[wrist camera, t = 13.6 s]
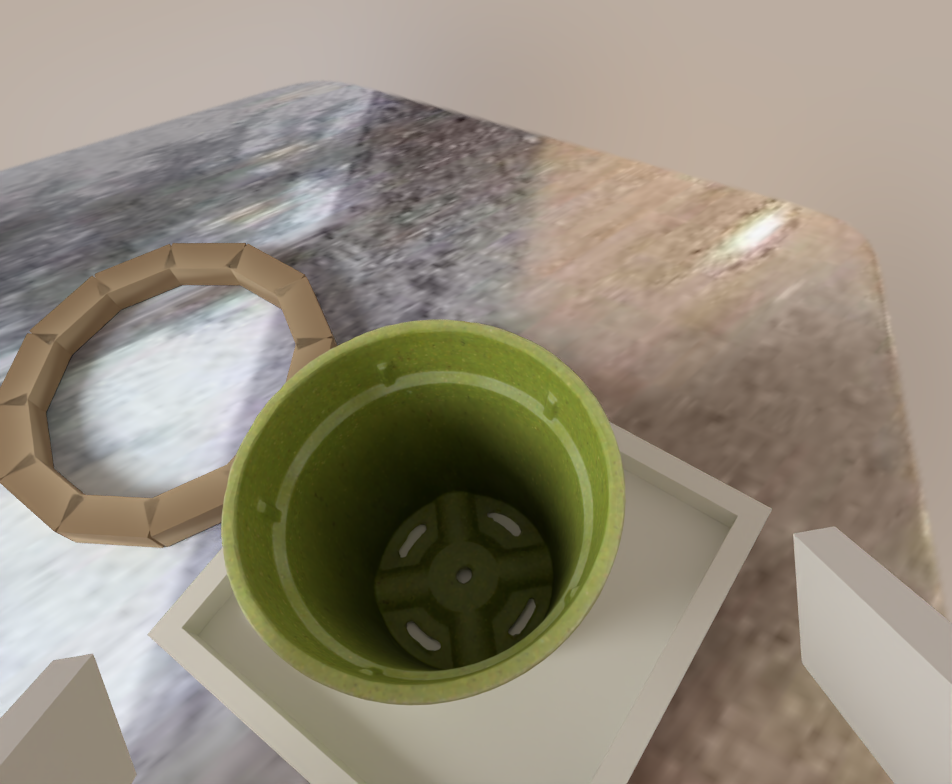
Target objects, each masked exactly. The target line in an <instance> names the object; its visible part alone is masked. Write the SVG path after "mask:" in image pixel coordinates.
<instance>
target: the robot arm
mask: <svg viewBox="0 0 952 784" xmlns="http://www.w3.org/2000/svg"><path fill="white" fill-rule="evenodd" d="M793 539H794V553H795V568H796V583H797V598H798V613H799V627H800V642H801V657H802V664H803V665H804V666H805V668H806V669H807V670H808V672H809V673H810V674H811V675H812V677H813V678H814V679H815V681H816V682H817V683H818V685H819V686H820V687H821V688H822V690H823V691H824V692H825V694H826V695H827V696H828V698H829V699H830V700H831V701H832V703H833V704H834V705H835V707H836V708H837V709H838V711H839V712H840V713H841V715H842V716H843V717H844V718H845V720H846V721H847V722H848V724H849V725H850V726H851V728H852V729H853V730H854V731H855V733H856V734H857V735H858V737H859V738H860V739H861V741H862V742H863V743H864V745H865V746H866V747H867V748H868V750H869V751H870V752H871V754H872V755H873V756H874V758H875V759H876V760H877V761H878V763H879V764H880V765H881V767H882V768H883V769H884V771H885V772H886V773H887V775H888V776H889V777H890V778H891V780H892V781H893V782H894V784H952V623H951V622H950V621H949V620H947V619H946V618H945V617H944V616H943V615H941V614H940V613H939V612H938V611H937V610H935V609H934V608H933V607H932V606H931V605H929V604H928V603H927V602H926V601H924V600H923V599H922V598H921V597H920V596H918V595H917V594H916V593H915V592H914V591H912V590H911V589H910V588H909V587H908V586H906V585H905V584H904V583H903V582H902V581H900V580H899V579H898V578H897V577H895V576H894V575H893V574H892V573H891V572H889V571H888V570H887V569H886V568H885V567H883V566H882V565H881V564H880V563H879V562H877V561H876V560H875V559H874V558H873V557H871V556H870V555H869V554H868V553H866V552H865V551H864V550H863V549H862V548H860V547H859V546H858V545H857V544H856V543H854V542H853V541H852V540H851V539H850V538H848V537H847V536H846V535H845V534H844V533H842V532H841V531H840V530H839V529H837V528H836V527H835V526H834V527H828V528H822V529H816V530H811V531H805V532H799V533H793ZM136 775H137V774H136V772H135V769H134V766H133V763H132V761H131V758H130V755H129V752H128V749H127V747H126V744H125V741H124V738H123V735H122V733H121V730H120V727H119V724H118V722H117V719H116V716H115V713H114V710H113V708H112V705H111V702H110V699H109V697H108V694H107V691H106V688H105V685H104V683H103V680H102V677H101V674H100V672H99V669H98V666H97V663H96V660H95V658H94V655H93V654H88V655H83V656H77V657H71V658H65V659H59V660H53V661H52V662H51V663H50V664H49V666H48V667H47V668H46V669H45V670H44V671H43V672H42V673H41V674H40V675H39V677H38V678H37V679H36V680H35V681H34V682H33V683H32V684H31V685H30V687H29V688H28V689H27V690H26V691H25V692H24V693H23V694H22V695H21V696H20V698H19V699H18V700H17V701H16V702H15V703H14V704H13V705H12V706H11V707H10V709H9V710H8V711H7V712H6V713H5V714H4V715H3V716H2V717H1V718H0V784H132V782H133V780H134V778H135V777H136Z"/></svg>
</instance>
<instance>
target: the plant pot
mask: <svg viewBox="0 0 952 784" xmlns="http://www.w3.org/2000/svg"><path fill="white" fill-rule="evenodd" d="M625 504H626V499H625V476H624V469H623V464H622V459H621V455H620V451H619V447H618V444H617V441H616V438H615V435H614V432H613V430H612V427H611V425H610V422H609V420H608V418H607V416H606V414H605V412H604V410H603V408H602V406H601V405H600V403H599V401H598V400H597V398H596V397H595V395H594V394H593V393H592V392H591V390H590V389H589V388H588V387H587V385H586V384H585V383H584V382H583V381H582V380H581V379H580V377H579V376H578V375H577V374H576V373H575V372H574V371H572V370H571V369H570V368H569V367H568V366H567V365H566V364H564V363H563V362H562V361H561V360H560V359H558V358H557V357H556V356H555V355H553V354H552V353H550V352H549V351H547V350H546V349H544V348H543V347H541V346H540V345H538V344H536V343H534V342H532V341H530V340H528V339H525V338H523V337H520V336H518V335H516V334H514V333H511V332H508V331H506V330H503V329H500V328H496V327H493V326H490V325H485V324H480V323H470V322H465V321H453V320H421V321H411V322H405V323H399V324H395V325H389V326H385V327H381V328H378V329H375V330H373V331H370V332H367V333H364V334H362V335H360V336H357V337H355V338H353V339H351V340H349V341H347V342H344V343H342V344H340V345H338V346H336V347H334V348H332V349H330V350H329V351H327V352H325V353H324V354H322V355H320V356H318V357H317V358H316V359H314V360H312V361H311V362H309V363H308V364H307V365H306V366H304V367H303V368H302V369H300V370H299V371H298V372H297V373H296V374H295V375H294V376H293V377H292V378H290V379H289V380H288V381H287V382H286V383H285V384H284V385H283V387H282V388H281V389H280V390H279V391H278V392H277V393H276V394H275V395H274V396H273V397H272V398H271V399H270V400H269V401H268V403H267V404H266V405H265V407H264V408H263V409H262V411H261V412H260V413H259V414H258V416H257V417H256V419H255V421H254V423H253V425H252V426H251V428H250V430H249V432H248V433H247V434H246V436H245V438H244V440H243V441H242V443H241V445H240V447H239V449H238V452H237V454H236V457H235V459H234V462H233V464H232V467H231V469H230V473H229V477H228V483H227V488H226V492H225V496H224V503H223V510H222V523H221V537H222V546H223V554H224V561H225V567H226V572H227V576H228V578H229V581H230V584H231V587H232V590H233V593H234V595H235V597H236V599H237V601H238V604H239V606H240V608H241V610H242V612H243V614H244V615H245V617H246V618H247V620H248V621H249V623H250V624H251V626H252V627H253V628H254V630H255V631H256V632H257V634H258V635H259V636H260V638H261V639H262V640H263V641H264V642H265V643H266V644H267V645H268V646H269V647H270V648H271V649H272V650H273V651H274V652H275V653H276V654H277V655H278V656H279V657H280V658H281V659H283V660H284V661H285V662H286V663H288V664H289V665H290V666H292V667H293V668H294V669H296V670H297V671H299V672H300V673H302V674H303V675H305V676H307V677H308V678H310V679H312V680H314V681H316V682H318V683H320V684H322V685H324V686H326V687H329V688H331V689H334V690H336V691H339V692H341V693H344V694H347V695H350V696H354V697H357V698H360V699H364V700H369V701H374V702H380V703H386V704H396V705H431V704H438V703H445V702H451V701H456V700H461V699H465V698H469V697H472V696H475V695H478V694H481V693H484V692H487V691H490V690H492V689H495V688H497V687H499V686H501V685H504V684H506V683H508V682H510V681H512V680H514V679H515V678H517V677H519V676H521V675H523V674H525V673H526V672H528V671H529V670H531V669H532V668H533V667H535V666H536V665H538V664H539V663H540V662H542V661H543V660H545V659H546V658H547V657H548V656H549V655H551V654H552V653H553V652H554V651H555V650H556V649H557V648H558V647H560V646H561V645H562V644H563V643H564V642H565V641H566V640H567V639H568V638H569V637H570V635H571V634H572V633H573V632H574V631H575V630H576V628H577V627H578V626H579V625H580V624H581V622H582V621H583V620H584V618H585V617H586V616H587V614H588V613H589V612H590V610H591V608H592V607H593V605H594V604H595V602H596V600H597V599H598V597H599V595H600V593H601V591H602V589H603V587H604V585H605V583H606V581H607V579H608V576H609V574H610V572H611V569H612V567H613V564H614V561H615V558H616V555H617V552H618V548H619V545H620V541H621V536H622V531H623V526H624V517H625ZM488 513H497V514H501V515H504V516H506V517H508V518H510V519H511V520H512V521H514V522H515V523H516V524H517V525H518V526H519V528H520V530H521V533H520V535H519V536H514V535H512V533H511V532H510V531H508V530H507V529H506V528H505V527H504V526H502V525H501V524H499V523H498V522H496V521H494V520H493V518H489V517H488V516H487V514H488ZM419 525H426V531H425V532H424V533H423V534H422V535H421V536H420V537H419V539H417V541H416V542H415V543H414V544H413V546H412V547H411V549H410V550H409V551H408V553H407V555H406V557H402V558H401V557H400V554H399V550H400V548H401V547H402V545H403V544H404V542H405V541H406V540H407V538H408V535H409V534H410V532H411V531H412V530H413V529H415V528H416V527H417V526H419ZM462 568H468V569H469V570H471V573H472V576H471V579H470V580H469V581H467V582H466V583H461V582H459V581H458V579H457V573H458V572H459V571H460V569H462ZM529 599H533V600H534V603H535V605H536V607H535V609H534V612H533V614H532V616H531V618H530V619H529V620H528V622H527V624H526V626H525V628H524V629H523V630H522V631H521V632H520V633H519V634H515V635H511V634H509V633H508V631H509V629H510V628H511V627H512V626H513V624H514V623H515V622H516V620H517V619H518V618H519V616H520V615H521V613H522V611H523V610H524V609H525V606H526V604H527V602H528V600H529ZM409 621H413V622H414V623H415V624H416V625H417V626H418V627H419V628H420V629H421V631H423V632H424V633H425V634H426V635H427V636H429V637H430V638H432V639H435V640H437V641H438V642H439V643H440V645H441V648H440V649H439V650H436V651H433V650H427V649H426V648H424V647H423V646H422V645H421V644H420V643H419V642H418V641H416V640H415V639H414V638H413V637H412V636H411V635H410V634H409V632H408V630H407V623H408V622H409Z"/></svg>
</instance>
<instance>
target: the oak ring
mask: <svg viewBox="0 0 952 784" xmlns="http://www.w3.org/2000/svg"><path fill="white" fill-rule="evenodd" d="M95 277H96V278H95ZM95 277H93V276H91V277H90V278H89V279H88V280H87V281H85V282H84V283H83V284H82V285H81V286H80V287H79V288H77V289H76V290H75V291H74V292H73V293H72V294H71V295H69V296H68V297H67V298H66V299H65V300H64V301H63V302H62V303H60V304H59V305H58V306H57V307H56V308H55V309H54V310H52V311H51V312H50V313H49V314H48V315H47V316H46V317H44V318H43V319H42V320H41V321H40V322H39V323H38V324H36V325H35V326H34V327H33V328H32V329H31V330H30V332H31V333H32V334H29V333H27V335H26V337H25V339H24V341H23V343H22V345H21V347H20V349H19V351H18V353H17V355H16V357H15V359H14V361H13V363H12V365H11V367H10V369H9V371H8V373H7V375H6V377H5V379H4V381H3V383H2V385H1V387H0V483H1V484H2V485H3V486H4V487H5V488H6V489H7V490H9V491H10V492H11V493H12V494H13V495H14V496H15V497H16V498H17V499H19V500H20V501H21V502H22V503H23V504H24V505H25V506H26V507H27V508H29V509H30V510H31V511H32V512H33V513H34V514H35V515H36V516H38V517H39V518H40V519H41V520H42V521H43V522H44V523H45V524H46V525H48V526H49V527H50V528H51V529H52V530H53V531H55V532H57V533H58V534H60V535H62V536H64V537H66V538H68V539H70V540H72V541H75V542H77V543H94V544H110V545H126V546H142V547H159V548H163V547H164V545H165V546H166V547H168V546H171V545H173V544H175V543H177V542H179V541H181V540H184V539H186V538H188V537H190V536H192V535H195V534H197V533H199V532H201V531H203V530H206V529H208V528H210V527H212V526H214V525H216V524H219V523H221V522H222V510H223V503H224V496H225V492H226V488H227V483H228V477H229V473H230V469H231V467H232V464H233V462H234V459H235V457H236V455H235V456H234V457H233V459H232V460H231V461H230V462H229V463H228V464H227V465H225V466H223V467H221V468H218V469H216V470H214V471H212V472H209V473H207V474H205V475H203V476H201V477H198V478H196V479H194V480H192V481H189V482H187V483H185V484H183V485H180V486H178V487H176V488H174V489H171V490H169V491H167V492H165V493H162V494H160V495H158V496H156V497H154V498H139V497H119V496H100V495H85V494H83V493H82V492H81V491H80V490H79V489H77V488H76V487H75V486H74V485H73V484H72V483H70V482H69V481H68V480H67V479H66V478H64V477H63V476H62V475H61V474H60V473H58V472H57V471H56V470H55V469H54V466H53V459H52V452H51V445H50V438H49V431H48V424H47V417H46V411H47V409H48V407H49V405H50V403H51V400H52V398H53V396H54V394H55V391H56V389H57V387H58V385H59V382H60V380H61V378H62V376H63V374H64V371H65V369H66V367H67V365H68V362H69V360H70V358H71V356H72V354H74V353H75V352H76V351H77V350H78V349H79V348H80V347H81V346H82V345H83V344H84V343H86V342H87V341H88V340H89V339H90V338H91V337H92V336H93V335H94V334H95V333H96V332H97V331H99V330H100V329H101V328H102V327H103V326H104V325H105V324H106V323H107V322H108V321H109V320H111V319H112V318H113V317H114V316H115V315H116V314H117V313H118V312H119V311H120V310H122V309H124V308H127V307H129V306H131V305H134V304H136V303H139V302H141V301H144V300H146V299H149V298H151V297H154V296H156V295H158V294H161V293H163V292H166V291H168V290H171V289H173V288H176V287H178V286H180V285H241V286H243V287H244V288H246V289H248V290H250V291H251V292H253V293H255V294H257V295H258V296H260V297H262V298H263V299H265V300H267V301H269V302H270V303H272V304H274V305H275V306H277V307H279V308H281V309H282V311H283V313H284V316H285V318H286V321H287V323H288V326H289V328H290V331H291V333H292V336H293V338H294V341H295V343H296V346H295V350H294V353H293V357H292V361H291V365H290V369H289V372H288V376H287V380H286V382H287V381H288V380H289V379H290V378H292V377H293V376H294V375H295V374H296V373H297V372H298V371H299V370H300V369H302V368H303V367H304V366H306V365H307V364H308V363H309V362H311V361H312V360H314V359H316V358H317V357H318V356H320V355H322V354H324V353H325V352H327V351H329V350H330V349H332V348H334V347H336V346H337V344H336V341H335V339H334V337H333V334H332V332H331V330H330V328H329V325H328V323H327V321H326V318H325V316H324V314H323V311H322V309H321V307H320V304H319V302H318V300H317V298H316V295H315V293H314V291H313V289H312V287H311V285H310V283H309V281H308V279H307V277H306V276H305V275H304V274H303V273H301V272H299V271H297V270H295V269H293V268H292V267H290V266H288V265H286V264H284V263H282V262H281V261H279V260H277V259H275V258H273V257H271V256H270V255H268V254H266V253H264V252H262V251H260V250H259V249H257V248H255V247H253V246H251V245H249V244H247V245H246V243H173V244H172V246H171V245H170V244H168V245H166V246H163V247H161V248H158V249H156V250H153V251H151V252H148V253H146V254H143V255H141V256H138V257H136V258H133V259H131V260H128V261H126V262H123V263H121V264H118V265H116V266H113V267H111V268H108V269H106V270H103V271H101V272H98V273H96V274H95Z"/></svg>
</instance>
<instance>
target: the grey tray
mask: <svg viewBox="0 0 952 784" xmlns="http://www.w3.org/2000/svg"><path fill="white" fill-rule="evenodd" d="M418 321H420V320H418ZM610 425H611V427H612V430H613V432H614V435H615V438H616V441H617V444H618V447H619V451H620V455H621V459H622V464H623V469H624V476H625V499H626V504H625V517H624V526H623V531H622V536H621V541H620V545H619V548H618V552H617V555H616V558H615V561H614V564H613V567H612V569H611V572H610V574H609V576H608V579H607V581H606V583H605V585H604V587H603V589H602V591H601V593H600V595H599V597H598V599H597V600H596V602H595V604H594V605H593V607H592V608H591V610H590V612H589V613H588V614H587V616H586V617H585V618H584V620H583V621H582V622H581V624H580V625H579V626H578V627H577V628H576V630H575V631H574V632H573V633H572V634H571V635H570V637H569V638H568V639H567V640H566V641H565V642H564V643H563V644H562V645H561V646H560V647H558V648H557V649H556V650H555V651H554V652H553V653H552V654H551V655H549V656H548V657H547V658H546V659H545V660H543V661H542V662H540V663H539V664H538V665H536V666H535V667H533V668H532V669H531V670H529V671H528V672H526V673H525V674H523V675H521V676H519V677H517V678H515V679H514V680H512V681H510V682H508V683H506V684H504V685H501V686H499V687H497V688H495V689H492V690H490V691H487V692H484V693H481V694H478V695H475V696H472V697H469V698H465V699H461V700H456V701H451V702H445V703H438V704H431V705H396V704H386V703H380V702H374V701H369V700H364V699H360V698H357V697H354V696H350V695H347V694H344V693H341V692H339V691H336V690H334V689H331V688H329V687H326V686H324V685H322V684H320V683H318V682H316V681H314V680H312V679H310V678H308V677H307V676H305V675H303V674H302V673H300V672H299V671H297V670H296V669H294V668H293V667H292V666H290V665H289V664H288V663H286V662H285V661H284V660H283V659H281V658H280V657H279V656H278V655H277V654H276V653H275V652H274V651H273V650H272V649H271V648H270V647H269V646H268V645H267V644H266V643H265V642H264V641H263V640H262V639H261V638H260V636H259V635H258V634H257V632H256V631H255V630H254V628H253V627H252V626H251V624H250V623H249V621H248V620H247V618H246V617H245V615H244V614H243V612H242V610H241V608H240V606H239V604H238V601H237V599H236V597H235V595H234V593H233V590H232V587H231V584H230V581H229V578H228V576H227V572H226V567H225V561H224V554H223V548H222V549H221V550H220V551H219V552H218V553H217V555H216V556H215V557H214V558H213V559H212V560H211V561H210V563H209V564H208V565H207V566H206V567H205V568H204V570H203V571H202V572H201V573H200V574H199V575H198V577H197V578H196V579H195V580H194V581H193V582H192V583H191V585H190V586H189V587H188V588H187V589H186V590H185V592H184V593H183V594H182V595H181V596H180V597H179V599H178V600H177V601H176V602H175V603H174V604H173V606H172V607H171V608H170V609H169V610H168V611H167V612H166V614H165V615H164V616H163V617H162V618H161V619H160V621H159V622H158V623H157V624H156V625H155V626H154V628H153V629H152V630H151V631H150V632H149V633H148V636H149V637H150V638H152V639H153V640H154V641H155V642H156V643H157V644H158V645H159V646H160V647H161V648H163V649H164V650H165V651H166V652H167V653H168V654H169V655H170V656H171V657H172V658H174V659H175V660H176V661H177V662H178V663H179V664H180V665H181V666H182V667H183V668H184V669H186V670H187V671H188V672H189V673H190V674H191V675H192V676H193V677H194V678H195V679H197V680H198V681H199V682H200V683H201V684H202V685H203V686H204V687H205V688H206V689H208V690H209V691H210V692H211V693H212V694H213V695H214V696H215V697H216V698H217V699H218V700H220V701H221V702H222V703H223V704H224V705H225V706H226V707H227V708H228V709H229V710H231V711H232V712H233V713H234V714H235V715H236V716H237V717H238V718H239V719H240V720H242V721H243V722H244V723H245V724H246V725H247V726H248V727H249V728H250V729H251V730H252V731H254V732H255V733H256V734H257V735H258V736H259V737H260V738H261V739H262V740H263V741H265V742H266V743H267V744H268V745H269V746H270V747H271V748H272V749H273V750H274V751H276V752H277V753H278V754H279V755H280V756H281V757H282V758H283V759H284V760H285V761H286V762H288V763H289V764H290V765H291V766H292V767H293V768H294V769H295V770H296V771H297V772H299V773H300V774H301V775H302V776H303V777H304V778H305V779H306V780H307V781H308V782H310V783H311V784H627V782H628V780H629V779H630V777H631V775H632V773H633V771H634V769H635V767H636V765H637V763H638V762H639V760H640V758H641V756H642V754H643V752H644V750H645V748H646V746H647V745H648V743H649V741H650V739H651V737H652V735H653V733H654V731H655V730H656V728H657V726H658V724H659V722H660V720H661V718H662V716H663V714H664V713H665V711H666V709H667V707H668V705H669V703H670V701H671V699H672V697H673V696H674V694H675V692H676V690H677V688H678V686H679V684H680V682H681V680H682V679H683V677H684V675H685V673H686V671H687V669H688V667H689V665H690V664H691V662H692V660H693V658H694V656H695V654H696V652H697V650H698V648H699V647H700V645H701V643H702V641H703V639H704V637H705V635H706V633H707V631H708V630H709V628H710V626H711V624H712V622H713V620H714V618H715V616H716V614H717V613H718V611H719V609H720V607H721V605H722V603H723V601H724V599H725V598H726V596H727V594H728V592H729V590H730V588H731V586H732V584H733V582H734V581H735V579H736V577H737V575H738V573H739V571H740V569H741V567H742V565H743V564H744V562H745V560H746V558H747V556H748V554H749V552H750V550H751V549H752V547H753V545H754V543H755V541H756V539H757V537H758V535H759V533H760V532H761V530H762V528H763V526H764V524H765V522H766V520H767V518H768V516H769V515H770V513H771V511H772V508H770V507H768V506H766V505H764V504H763V503H761V502H759V501H757V500H755V499H753V498H751V497H749V496H748V495H746V494H744V493H742V492H740V491H738V490H736V489H734V488H733V487H731V486H729V485H727V484H725V483H723V482H721V481H720V480H718V479H716V478H714V477H712V476H710V475H708V474H706V473H705V472H703V471H701V470H699V469H697V468H695V467H693V466H691V465H690V464H688V463H686V462H684V461H682V460H680V459H678V458H676V457H675V456H673V455H671V454H669V453H667V452H665V451H663V450H662V449H660V448H658V447H656V446H654V445H652V444H650V443H648V442H647V441H645V440H643V439H641V438H639V437H637V436H635V435H633V434H632V433H630V432H628V431H626V430H624V429H622V428H620V427H619V426H617V425H615V424H613V423H611V422H610ZM487 516H488V517H489V518H493V520H494V521H496V522H498V523H499V524H501V525H502V526H504V527H505V528H506V529H507V530H508V531H510V532H511V533H512V535H514V536H519V535H520V533H521V530H520V528H519V526H518V525H517V524H516V523H515V522H514V521H512V520H511V519H510V518H508V517H506V516H504V515H501V514H497V513H488V514H487ZM425 531H426V525H419V526H417V527H416V528H415V529H413V530H412V531H411V532H410V534H409V535H408V538H407V540H406V541H405V542H404V544H403V545H402V547H401V548H400V550H399V554H400V557H401V558H402V557H406V555H407V553H408V551H409V550H410V549H411V547H412V546H413V544H414V543H415V542H416V541H417V539H419V537H420V536H421V535H422V534H423V533H424V532H425ZM471 576H472V573H471V570H469V569H468V568H462V569H460V571H459V572H458V573H457V579H458V581H459V582H461V583H466V582H467V581H469V580H470V579H471ZM535 607H536V605H535V603H534V600H533V599H529V600H528V602H527V604H526V606H525V609H524V610H523V611H522V613H521V615H520V616H519V618H518V619H517V620H516V622H515V623H514V624H513V626H512V627H511V628H510V629H509V631H508V633H509V634H511V635H515V634H519V633H520V632H521V631H522V630H523V629H524V628H525V626H526V624H527V622H528V620H529V619H530V618H531V616H532V614H533V612H534V609H535ZM407 630H408V632H409V634H410V635H411V636H412V637H413V638H414V639H415V640H416V641H418V642H419V643H420V644H421V645H422V646H423V647H424V648H426V649H427V650H433V651H436V650H439V649H440V648H441V645H440V643H439V642H438V641H437V640H435V639H432V638H430V637H429V636H427V635H426V634H425V633H424V632H423V631H421V629H420V628H419V627H418V626H417V625H416V624H415V623H414V622H413V621H409V622H408V623H407Z"/></svg>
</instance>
